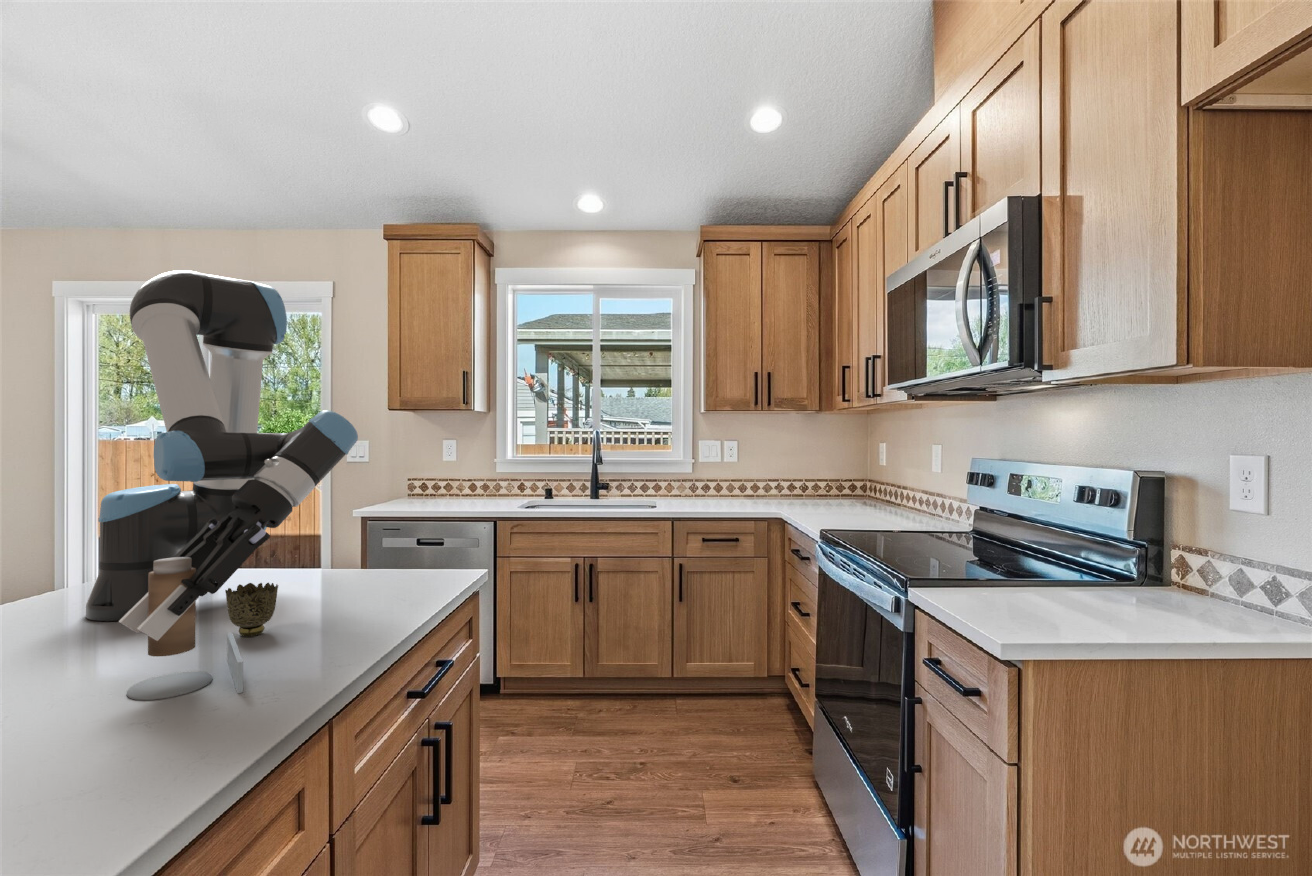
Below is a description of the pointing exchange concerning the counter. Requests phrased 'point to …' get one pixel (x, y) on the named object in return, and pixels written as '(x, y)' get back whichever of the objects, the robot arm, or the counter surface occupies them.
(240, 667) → the acrylic wall
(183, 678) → the coaster
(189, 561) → the pepper mill
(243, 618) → the cup
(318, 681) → the counter surface
